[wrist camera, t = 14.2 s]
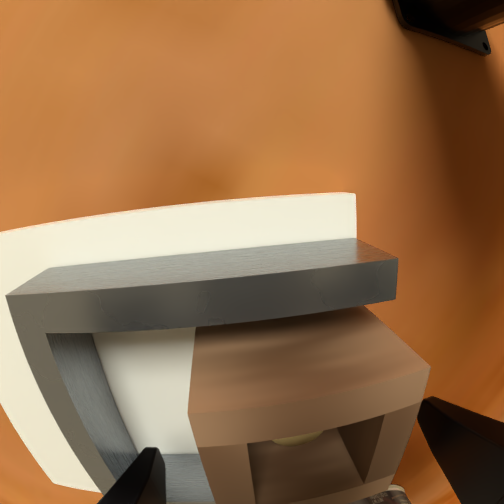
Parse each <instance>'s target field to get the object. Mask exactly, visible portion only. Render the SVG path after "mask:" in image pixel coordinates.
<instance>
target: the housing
mask: <svg viewBox="0 0 504 504" xmlns="http://www.w3.org/2000/svg"><path fill="white" fill-rule="evenodd" d="M397 272H398V258H397V257H395V256H392V255H390V254H388V253H386V252H384V251H382V250H380V249H378V248H375V247H373V246H371V245H369V244H367V243H365V242H362V241H360V240H358V239H356V238H346V239H335V240H325V241H314V242H303V243H293V244H282V245H272V246H261V247H251V248H241V249H230V250H220V251H210V252H200V253H190V254H180V255H170V256H159V257H149V258H140V259H130V260H120V261H110V262H100V263H90V264H81V265H71V266H61V267H52V268H48V269H46V270H44V271H43V272H41V273H40V274H38V275H36V276H35V277H33V278H32V279H30V280H28V281H27V282H25V283H24V284H22V285H20V286H19V287H17V288H16V289H14V290H13V291H11V292H10V293H8V294H7V295H5V297H6V300H7V304H8V307H9V311H10V314H11V317H12V320H13V323H14V326H15V329H16V332H17V335H18V338H19V341H20V344H21V346H22V349H23V352H24V354H25V357H26V359H27V362H28V364H29V367H30V369H31V371H32V374H33V376H34V378H35V381H36V383H37V385H38V387H39V389H40V391H41V394H42V396H43V398H44V400H45V402H46V404H47V406H48V408H49V410H50V412H51V414H52V416H53V417H54V419H55V421H56V423H57V425H58V427H59V428H60V430H61V432H62V434H63V435H64V437H65V439H66V441H67V442H68V444H69V446H70V447H71V449H72V450H73V452H74V454H75V455H76V457H77V458H78V460H79V461H80V463H81V464H82V466H83V467H84V469H85V470H86V472H87V473H88V475H89V476H90V478H91V479H92V480H93V482H94V483H95V485H96V486H97V487H98V489H99V490H100V491H101V493H102V494H103V495H105V494H106V493H107V492H108V490H109V489H110V488H111V487H112V486H113V485H114V483H115V482H116V481H117V480H118V479H119V478H120V476H121V475H122V474H123V473H124V472H125V470H126V469H127V468H128V467H129V466H130V465H131V463H132V462H133V461H134V460H135V459H136V457H137V456H138V455H139V454H138V453H137V451H136V449H135V447H134V445H133V442H132V440H131V438H130V436H129V434H128V431H127V429H126V427H125V425H124V422H123V420H122V418H121V415H120V413H119V411H118V408H117V406H116V403H115V401H114V398H113V395H112V393H111V390H110V388H109V385H108V382H107V379H106V377H105V374H104V371H103V368H102V365H101V362H100V359H99V356H98V353H97V350H96V347H95V343H94V340H93V337H92V333H99V332H125V331H145V330H161V329H175V328H188V327H200V326H211V325H222V324H232V323H241V322H250V321H259V320H267V319H275V318H283V317H290V316H298V315H305V314H312V313H318V312H325V311H331V310H338V309H344V308H350V307H356V306H362V305H367V304H373V303H378V302H384V301H389V300H394V299H396V287H397ZM161 455H162V457H163V459H164V462H165V467H166V504H216V503H215V500H214V497H213V495H212V492H211V489H210V486H209V483H208V480H207V477H206V474H205V471H204V468H203V465H202V462H201V459H200V455H199V454H161Z"/></svg>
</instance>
